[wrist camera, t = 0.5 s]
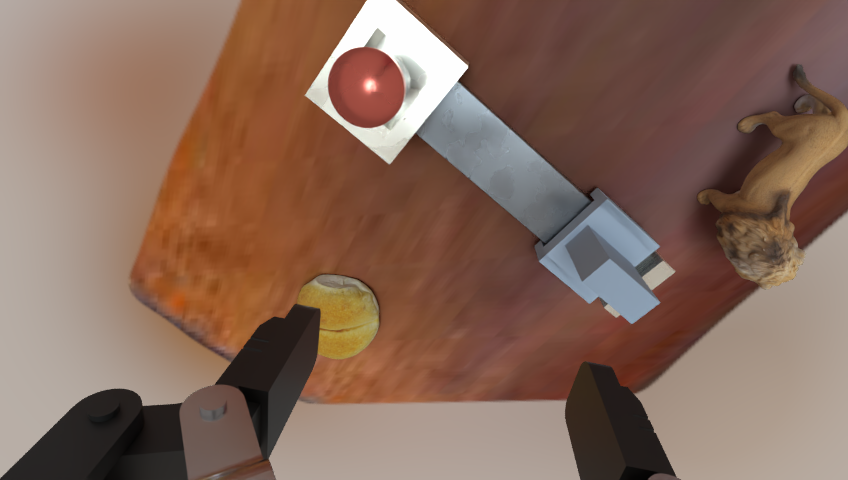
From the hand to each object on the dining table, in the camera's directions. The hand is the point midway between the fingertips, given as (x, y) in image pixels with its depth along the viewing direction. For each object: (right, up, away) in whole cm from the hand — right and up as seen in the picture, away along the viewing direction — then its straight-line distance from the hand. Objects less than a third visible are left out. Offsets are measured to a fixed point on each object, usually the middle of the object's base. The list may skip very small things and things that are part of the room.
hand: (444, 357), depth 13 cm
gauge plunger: (-3, +14, +15) cm, 20 cm away
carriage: (+14, +4, +25) cm, 29 cm away
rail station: (+6, +10, +24) cm, 26 cm away
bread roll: (-9, -3, +32) cm, 33 cm away
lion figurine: (+25, +9, +22) cm, 35 cm away
